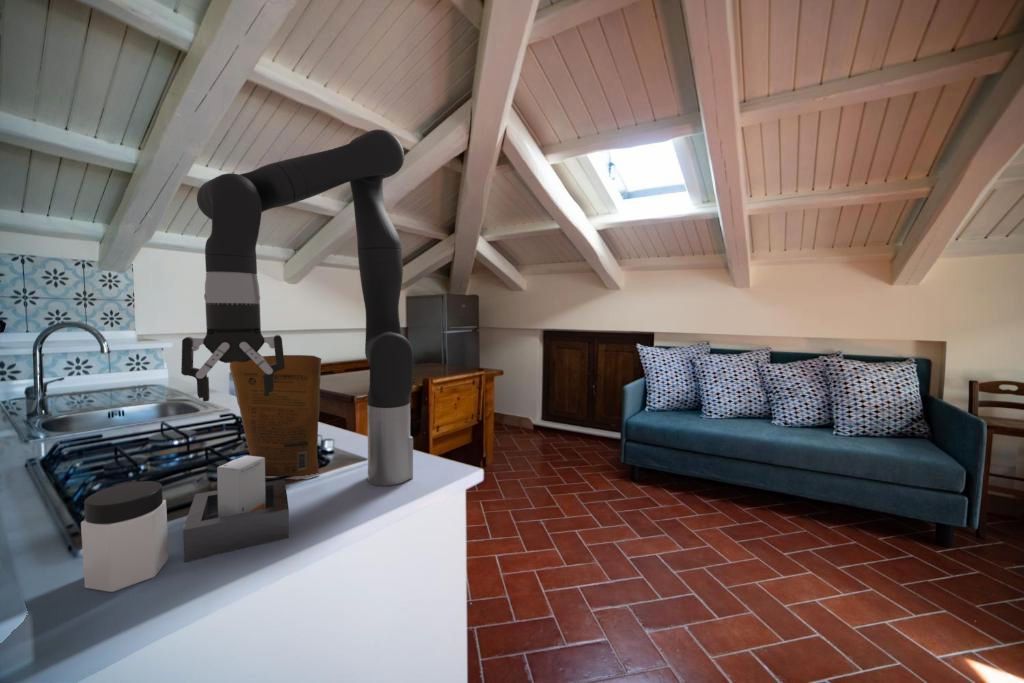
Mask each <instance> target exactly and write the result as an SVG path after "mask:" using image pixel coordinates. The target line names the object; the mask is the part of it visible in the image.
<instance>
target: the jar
mask: <svg viewBox="0 0 1024 683" xmlns="http://www.w3.org/2000/svg"><path fill="white" fill-rule="evenodd" d="M83 504H84V505H83V506H84V520H82V521H81V522H80V530H81V531H80V533H81V546H82V547H81V550H82V562H83V563H82V564H83V580H84V588H85V589H91V590H97V591H101V592H102V591H103V592H108V593H109V592H110V593H114V592H116V591H120V590H123V589H126V588H128V587H131V586H134V585H137V584H139V583H141V582H144V581H146V580H149V579H153V578H155V577H157V576H156V575H157V574H159V572H160V570H161V569H162V568H163V567H164V565H165V564H166V563H167V562H168V560H169V555H170V554H169V535H168V517H167V515H168V513H167V510H168V508H167V499H164V498H163V486H162V484H161V483H160V482H157V481H154V480H153V481H152V480H147V481H146V480H143V481H133V482H132V481H131V482H126V483H122V484H118V485H114V486H110V487H106V488H103V489H100V490H99V491H96V492H95V493H93V494H91V495H89V496H87V497H86V498H85V500H84V502H83Z"/></svg>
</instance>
